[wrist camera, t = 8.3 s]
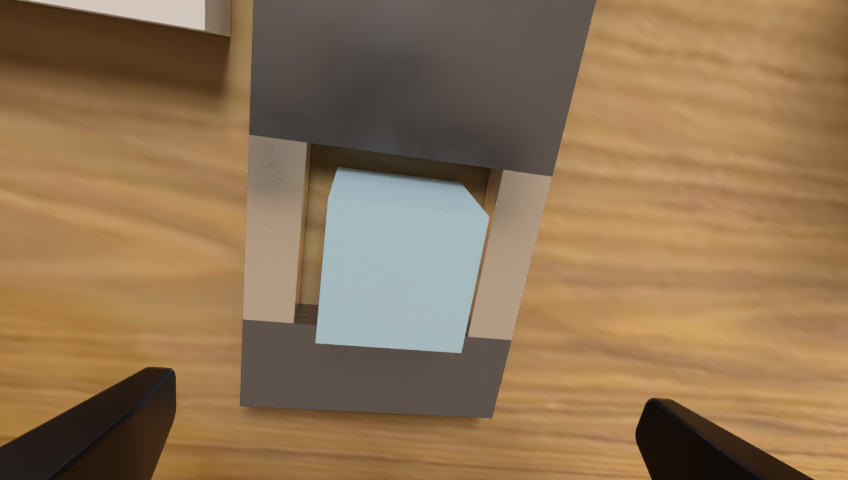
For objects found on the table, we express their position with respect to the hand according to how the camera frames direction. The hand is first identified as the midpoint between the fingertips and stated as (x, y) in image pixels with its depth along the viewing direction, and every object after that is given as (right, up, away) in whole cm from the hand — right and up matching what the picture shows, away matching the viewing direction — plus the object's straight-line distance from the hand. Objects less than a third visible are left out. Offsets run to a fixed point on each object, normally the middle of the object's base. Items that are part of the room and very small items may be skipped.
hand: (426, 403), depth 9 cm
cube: (-1, +3, +9) cm, 10 cm away
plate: (-1, +6, +8) cm, 10 cm away
